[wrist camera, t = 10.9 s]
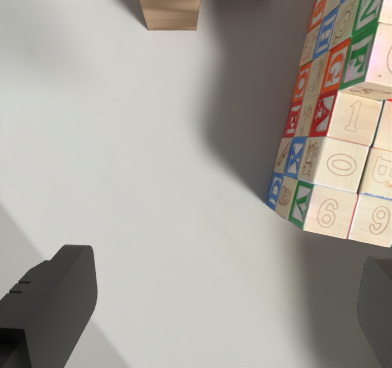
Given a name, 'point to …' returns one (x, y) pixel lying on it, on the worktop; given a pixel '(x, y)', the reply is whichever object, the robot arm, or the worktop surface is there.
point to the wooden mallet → (170, 14)
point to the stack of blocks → (340, 126)
